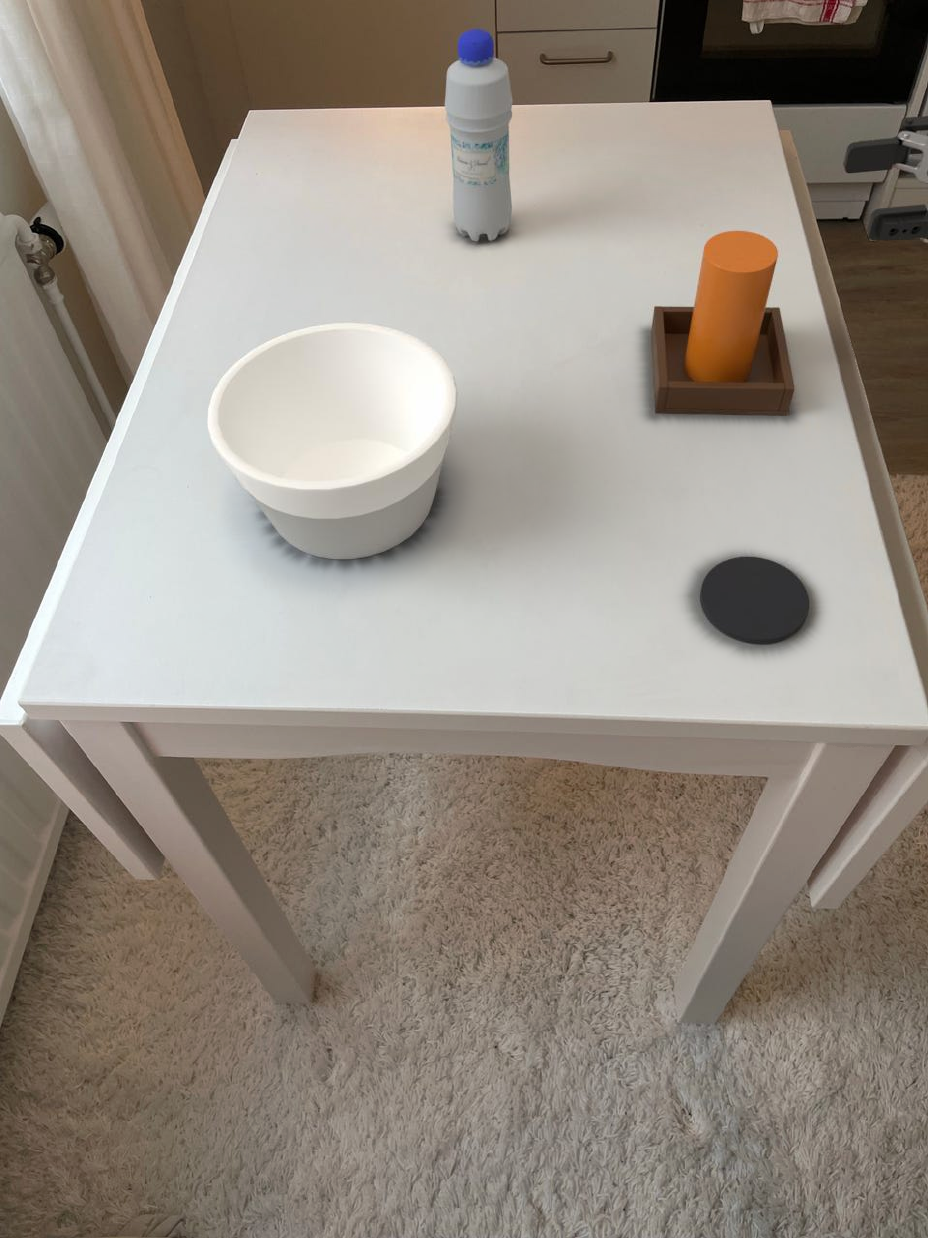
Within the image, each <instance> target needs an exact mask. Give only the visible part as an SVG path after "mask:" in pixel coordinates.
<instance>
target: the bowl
mask: <svg viewBox="0 0 928 1238" xmlns="http://www.w3.org/2000/svg"><path fill="white" fill-rule="evenodd" d="M457 401H458V388H457V384H456V380H455V376H454V374H453V373H452V371H451V369H450V367H449V366H448V364H447V362H446V360H445V359H443V357H442V356H441V355H440V354H439V353H438V352H437V351H436V350H435V349H434V348H433V347H431V346H430V345H429V344H428V343H426V342H424V341H422V340H421V339H420V338H418V337H416V336H413V335H411V334H409V333H406V332H404V331H402V330H399V329H395V328H391V327H388V326H383V325H380V324H372V323H362V322H335V323H326V324H320V325H319V324H318V325H312V326H307V327H304V328H299V329H296V330H293V331H289V332H287V333H285V334H282V335H279V336H277V337H274V338H272V339H270V340H268V341H266V342H264V343H262V344H261V345H259V346H257V347H255V348H253V349H252V350H250V351H249V352H248V353H246V354H245V355H244V356H242V357H241V358H240V359H238V360H237V361H236V362H235V363H233V365H232V366H231V367H230V368H229V369H228V370H227V371H226V372H225V374H224V375H223V376H221V379H220V380H219V382H218V383H217V385H216V387H215V389H214V390H213V392H212V395H211V398H210V401H209V405H208V408H207V430H208V434H209V437H210V441H211V444H212V445H213V447H214V449H215V450H216V452H217V453H218V455H219V456H220V458H221V459H222V461H223V462H224V463H225V465H226V466H227V467H228V468H229V470H230V471H231V472H232V474H233V475H234V477H235V478H236V479H237V480H238V482H239V483H240V484H241V486H242V487H243V488H244V490H245V491H247V493H248V494H249V496H250V497H251V498H252V499H253V501H254V502H255V503H256V505H257V507H258V508H259V509H260V510H261V511H262V513H263V514H264V515H265V517H266V518H267V519H268V520H269V522H270V524H271V525H272V526H273V527H274V529H275V530H276V531H277V533H278V534H279V535H280V536H281V537H282V538H283V539H284V540H285V541H286V542H287V543H288V544H289V545H291V546H292V547H294V548H296V549H297V550H299V551H301V552H303V553H305V554H309V555H311V556H315V557H317V558H323V559H324V558H325V559H330V560H354V559H355V560H356V559H361V558H367V557H371V556H374V555H378V554H381V553H384V552H386V551H388V550H391V549H392V548H395V547H397V546H399V545H400V544H402V543H403V542H404V541H405V540H407V539H409V538H410V537H411V536H412V535H413V534H415V533H416V531H417V530H419V528H420V527H422V525H423V523H424V522H425V520H426V519H427V517H428V516H429V515H430V512H431V509H432V505H433V503H434V500H435V495H436V491H437V487H438V484H439V479H440V474H441V471H442V467H443V463H444V459H445V455H446V451H447V448H448V445H449V440H450V437H451V431H452V428H453V424H454V420H455V416H456V412H457V404H458V402H457Z"/></svg>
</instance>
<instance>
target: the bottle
mask: <svg viewBox="0 0 928 1238" xmlns="http://www.w3.org/2000/svg"><path fill="white" fill-rule="evenodd" d="M457 55H458V59H457V60H456V61H454V62H453V63H452V64H451V65H450V66H449V67H447V71H446V81H445V82H446V83H445V85H446V86H445V95H444V96H445V97H444V108H445V113H446V115H445V120H446V123H447V124H448V126H449V130H450V131H449V132H450V147H451V163H452V166H451V167H452V179H453V180H452V182H453V183H452V212H453V217H454V218H453V219H454V222H455V226H456V228H457V231H458V233H460V235H461V236H463V237H468V236H469V238H470V239H471V241H473V242H479V241H480V237H481V235H487V240H488V241H490V242H491V241H494V240H496V238H498V235H504V234H506V232H507V231H508V230H509V228H510V226H511V225H510V224H511V220H512V210H513V209H512V208H513V205H512V190H511V189H512V188H511V181H510V180H511V179H510V122H511V120H512V118H513V111H512V108H513V102H514V100H513V99H514V98H513V95H512V88H511V81H510V74H509V68H508V66H507V64H506V63H505V62H504V61H503V60H501V59H500V58H497V57H495V44H494V38H493V36H492V35H491V34H490V32H488V31H487V30H484V29H482V28H481V29H480V28H478V29H477V28H473V29H468V30H466V31H464V32H463V33H461V34H460V35H459V37H458V41H457Z"/></svg>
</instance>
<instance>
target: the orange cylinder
mask: <svg viewBox="0 0 928 1238" xmlns="http://www.w3.org/2000/svg"><path fill="white" fill-rule="evenodd" d="M778 258H779V251H778V248H777V246H776V245H775V243H774V242H773V241H772V240H770V239H769V238H768V237H766V236H764V235H762V234H759V233H756V232H752V231H748V230H728V231H724V232H723V231H722V232H720V233H717V234H715V235H713V236H712V237H710V238H709V239H708V240H706V242H705V244H704V246H703V250H702V257H701V262H700V269H699V275H698V282H697V286H696V292H695V298H694V305H693V307H694V310H693V316H692V321H691V327H690V333H689V339H688V345H687V351H686V357H685V363H684V368H685V372H686V374H687V375H688V376H689V377H690V379H692V380H693V381H694V382H742V383H743V382H744V381H745V380H746V379H747V378H748V376H749V374H750V370H751V366H752V362H753V358H754V354H755V349H756V345H757V341H758V337H759V333H760V329H761V324H762V320H763V316H764V312H765V308H766V307H767V303H768V298H769V295H770V291H771V287H772V282H773V278H774V274H775V269H776V265H777V261H778Z"/></svg>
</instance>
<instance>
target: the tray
mask: <svg viewBox="0 0 928 1238" xmlns="http://www.w3.org/2000/svg"><path fill="white" fill-rule="evenodd" d="M693 310H694V306H663V305H661V306H660V305H659V306H658V305H655V306H654V308H653V315H652V322H651V329H650V338H651V339H650V340H651V354H652V355H651V357H652V375H653V378H652V379H653V392H654V393H653V396H654V398H653V399H654V413H656V414H697V415H749V416H750V415H752V416H753V415H755V416H756V415H757V416H788V413H789V410H790V407H791V403H792V400H793V396H794V392H795V385H794V378H793V373H792V368H791V367H792V366H791V361H790V356H789V351H788V346H787V340H786V334H785V329H784V325H783V324H784V323H783V318H782V312H781V309H780V307H779V306H778V307H777V306H776V307H773V306H771V307H767V306H766V308H765V312H764V316H763V320H762V324H761V329H760V333H759V337H758V341H757V345H756V349H755V354H754V358H753V362H752V366H751V370H750V374H749V376H748V378H747V379H746V380H745V381H744V382H743V383H742V382H694V381H693V380H692V379H690V377H689V376H688V375H687V374H686V372H685V368H684V363H685V357H686V351H687V345H688V339H689V333H690V327H691V321H692V316H693Z"/></svg>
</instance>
